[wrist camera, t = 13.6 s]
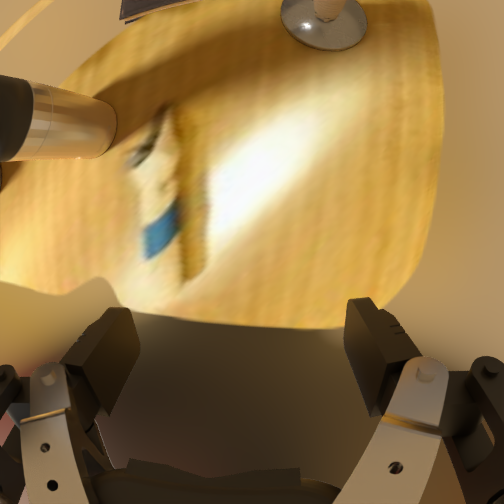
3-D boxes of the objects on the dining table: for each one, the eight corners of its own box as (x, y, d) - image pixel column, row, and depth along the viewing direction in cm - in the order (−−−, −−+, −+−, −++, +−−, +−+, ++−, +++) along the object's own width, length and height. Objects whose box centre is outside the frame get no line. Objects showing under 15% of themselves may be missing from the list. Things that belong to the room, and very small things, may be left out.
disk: (264, 25, 30) (264, 21, 28) (306, -21, 26) (306, -25, 25) (342, 66, 30) (344, 63, 29) (377, 16, 27) (379, 13, 26)
